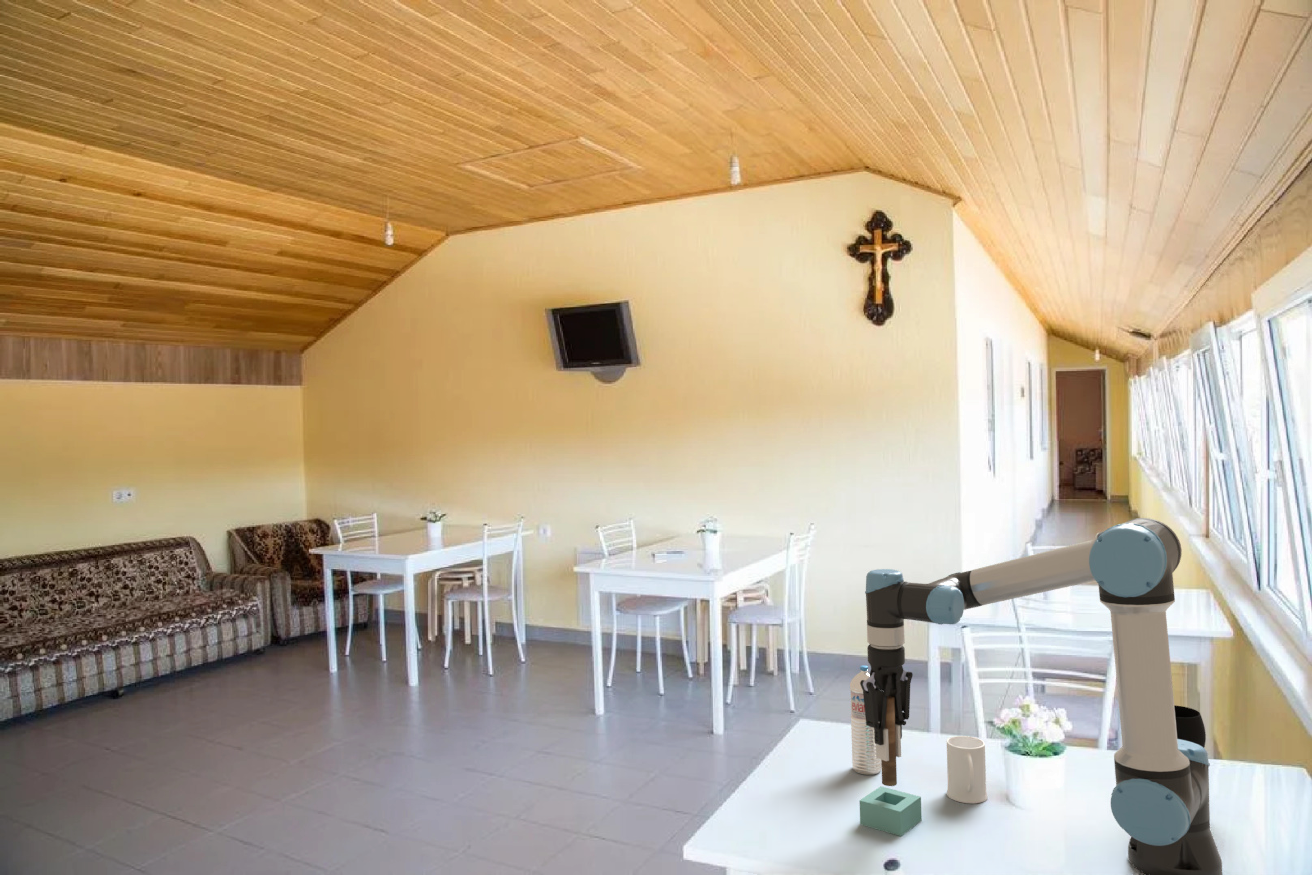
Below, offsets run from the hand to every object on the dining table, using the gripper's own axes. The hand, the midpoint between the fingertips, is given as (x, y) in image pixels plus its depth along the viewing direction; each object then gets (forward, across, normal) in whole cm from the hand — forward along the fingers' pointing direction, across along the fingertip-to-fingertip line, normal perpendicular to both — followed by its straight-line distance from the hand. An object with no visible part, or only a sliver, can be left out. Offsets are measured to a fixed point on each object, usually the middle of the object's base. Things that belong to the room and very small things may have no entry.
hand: (888, 756), depth 192 cm
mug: (+14, -22, +2) cm, 26 cm away
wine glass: (+14, -54, +31) cm, 64 cm away
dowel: (+6, 0, 0) cm, 6 cm away
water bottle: (+14, -17, -23) cm, 32 cm away
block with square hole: (+14, 0, 0) cm, 14 cm away
